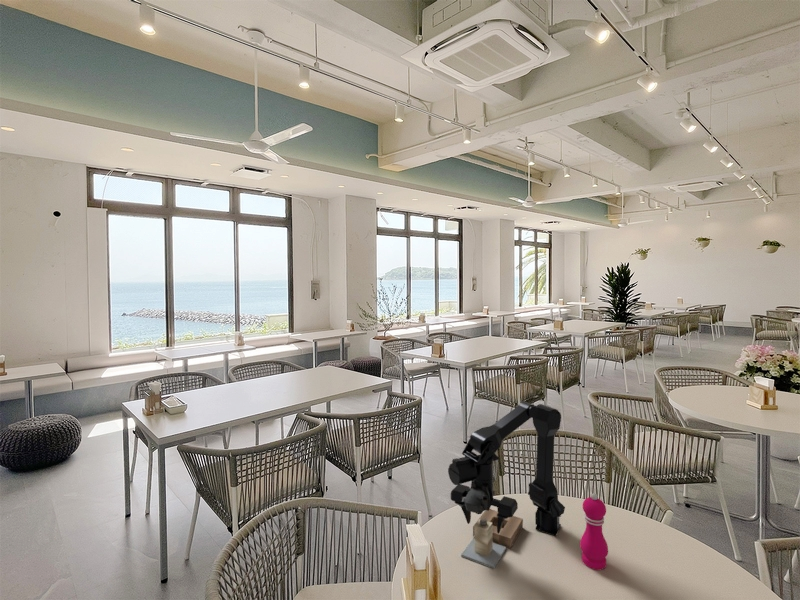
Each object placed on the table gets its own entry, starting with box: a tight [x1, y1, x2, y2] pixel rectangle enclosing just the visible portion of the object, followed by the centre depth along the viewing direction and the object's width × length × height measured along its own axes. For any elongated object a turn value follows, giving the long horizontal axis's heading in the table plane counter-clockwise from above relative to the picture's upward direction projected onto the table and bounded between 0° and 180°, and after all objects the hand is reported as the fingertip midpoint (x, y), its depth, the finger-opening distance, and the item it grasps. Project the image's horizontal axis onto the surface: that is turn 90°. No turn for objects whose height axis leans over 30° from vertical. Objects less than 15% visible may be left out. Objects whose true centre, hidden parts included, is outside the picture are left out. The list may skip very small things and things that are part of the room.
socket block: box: [472, 508, 524, 549], centre depth 136 cm, size 12×12×3 cm
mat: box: [460, 537, 507, 569], centre depth 126 cm, size 10×10×1 cm
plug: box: [473, 518, 494, 557], centre depth 125 cm, size 4×4×9 cm
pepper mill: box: [579, 492, 609, 571], centre depth 120 cm, size 7×7×20 cm
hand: (483, 527), depth 125 cm, fingers open, 9 cm apart
